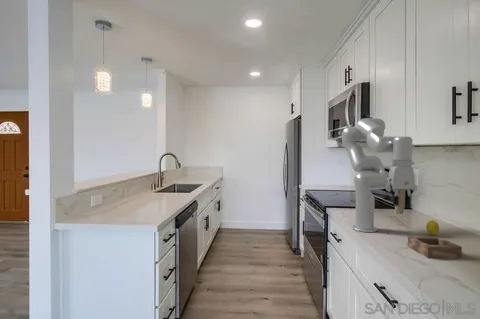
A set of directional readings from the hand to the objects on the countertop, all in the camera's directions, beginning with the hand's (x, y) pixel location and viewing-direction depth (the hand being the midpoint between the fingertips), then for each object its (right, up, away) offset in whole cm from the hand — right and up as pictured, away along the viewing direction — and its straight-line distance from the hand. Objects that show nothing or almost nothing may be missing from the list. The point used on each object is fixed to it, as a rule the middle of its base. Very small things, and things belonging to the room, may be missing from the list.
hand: (400, 204), depth 134 cm
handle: (0, -5, +1) cm, 5 cm away
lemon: (+27, -19, +19) cm, 38 cm away
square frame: (+11, -20, -5) cm, 23 cm away
